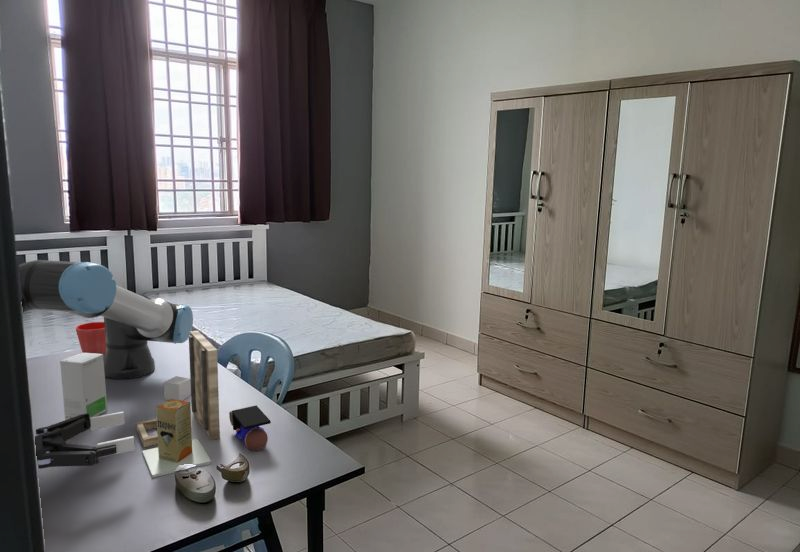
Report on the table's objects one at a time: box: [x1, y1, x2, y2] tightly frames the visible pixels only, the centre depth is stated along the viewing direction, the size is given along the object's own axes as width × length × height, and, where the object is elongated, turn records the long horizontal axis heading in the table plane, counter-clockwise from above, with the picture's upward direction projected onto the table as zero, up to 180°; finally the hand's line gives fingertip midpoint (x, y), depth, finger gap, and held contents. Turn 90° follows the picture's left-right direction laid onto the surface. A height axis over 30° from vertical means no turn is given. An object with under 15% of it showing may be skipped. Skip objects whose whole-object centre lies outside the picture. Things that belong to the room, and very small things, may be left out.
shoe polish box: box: [155, 399, 193, 463], centre depth 127 cm, size 5×5×12 cm
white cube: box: [163, 375, 191, 401], centre depth 161 cm, size 5×5×5 cm
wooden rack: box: [135, 330, 221, 448], centre depth 139 cm, size 18×16×22 cm
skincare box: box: [59, 352, 108, 421], centre depth 147 cm, size 8×7×16 cm
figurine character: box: [228, 405, 272, 451], centre depth 137 cm, size 7×8×15 cm
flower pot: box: [75, 321, 106, 356], centre depth 195 cm, size 11×11×10 cm
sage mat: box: [142, 438, 212, 479], centre depth 128 cm, size 12×12×1 cm
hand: (129, 429), depth 122 cm, fingers open, 13 cm apart
